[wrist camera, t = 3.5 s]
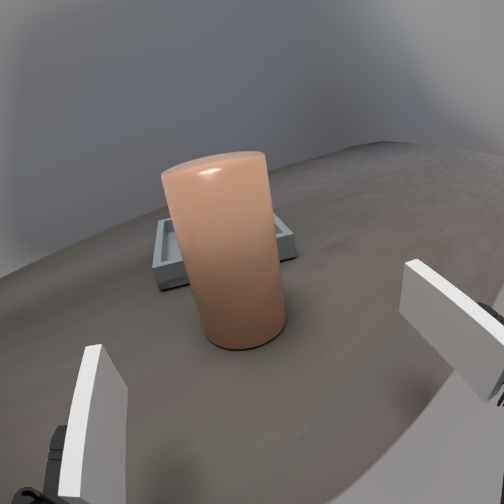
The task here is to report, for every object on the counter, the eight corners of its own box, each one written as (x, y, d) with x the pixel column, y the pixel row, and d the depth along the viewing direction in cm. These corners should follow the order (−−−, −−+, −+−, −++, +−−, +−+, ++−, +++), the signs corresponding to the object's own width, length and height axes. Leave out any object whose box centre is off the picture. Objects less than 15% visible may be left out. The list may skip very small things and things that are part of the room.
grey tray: (159, 290, 30) (152, 268, 29) (163, 237, 42) (158, 220, 41) (295, 256, 32) (293, 233, 31) (261, 214, 44) (258, 197, 43)
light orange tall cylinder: (209, 358, 21) (157, 186, 15) (200, 307, 26) (163, 167, 21) (298, 334, 22) (278, 160, 16) (273, 288, 27) (251, 147, 22)
